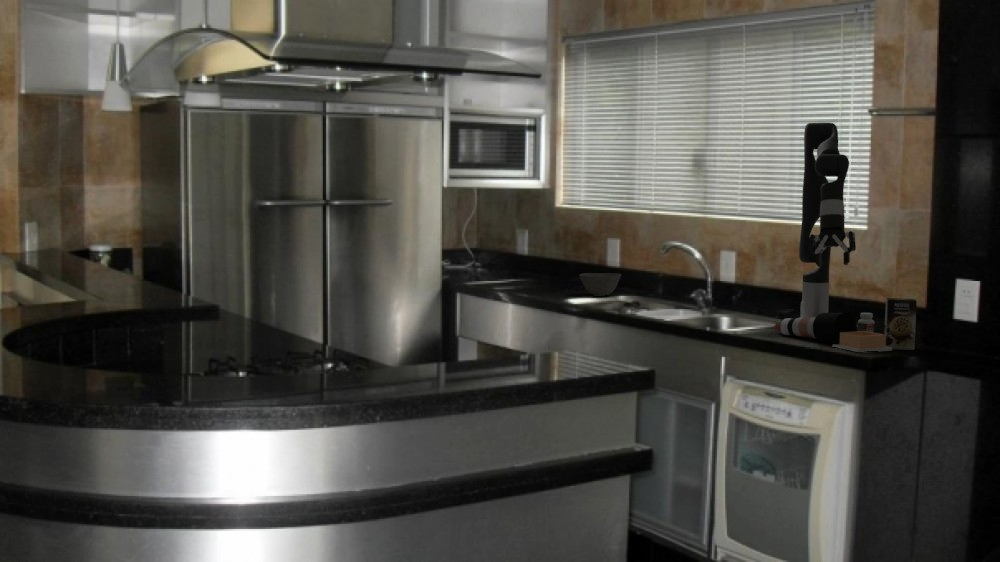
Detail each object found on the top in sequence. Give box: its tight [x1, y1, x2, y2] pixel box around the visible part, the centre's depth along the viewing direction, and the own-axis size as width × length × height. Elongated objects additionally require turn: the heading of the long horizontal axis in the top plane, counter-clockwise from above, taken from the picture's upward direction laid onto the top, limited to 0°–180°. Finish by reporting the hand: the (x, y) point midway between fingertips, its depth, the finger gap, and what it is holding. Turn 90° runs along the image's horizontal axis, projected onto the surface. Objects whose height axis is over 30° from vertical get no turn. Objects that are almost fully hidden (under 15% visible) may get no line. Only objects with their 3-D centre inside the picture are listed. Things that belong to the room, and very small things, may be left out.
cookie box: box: [883, 297, 918, 351], centre depth 389 cm, size 9×6×16 cm
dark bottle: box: [774, 312, 858, 344], centre depth 410 cm, size 10×34×10 cm, turn 25°
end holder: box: [832, 330, 893, 353], centre depth 387 cm, size 12×14×5 cm
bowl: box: [579, 272, 622, 296], centre depth 541 cm, size 19×19×10 cm
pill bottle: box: [857, 312, 875, 333], centre depth 402 cm, size 5×5×10 cm
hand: (832, 265), depth 382 cm, fingers open, 8 cm apart
